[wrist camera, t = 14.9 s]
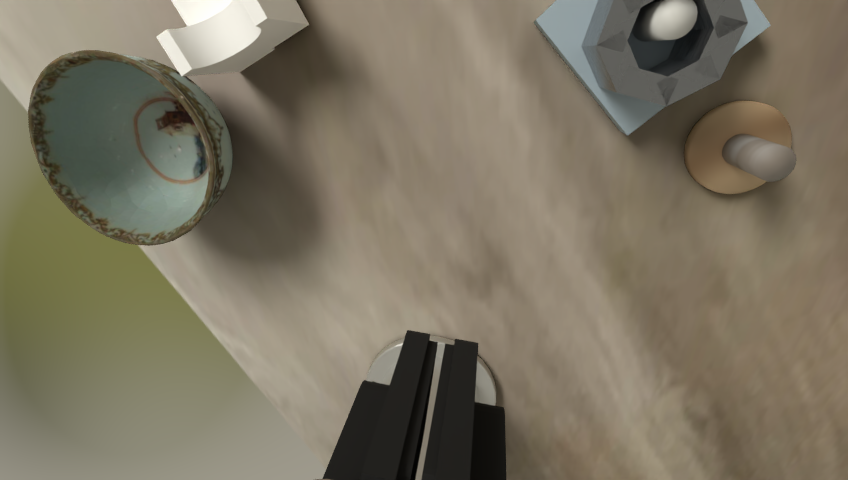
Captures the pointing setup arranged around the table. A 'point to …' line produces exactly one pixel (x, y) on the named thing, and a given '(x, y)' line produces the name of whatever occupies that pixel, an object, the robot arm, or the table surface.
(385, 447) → the robot arm
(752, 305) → the table surface
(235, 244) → the table surface
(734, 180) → the stand
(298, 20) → the bracket
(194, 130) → the bowl
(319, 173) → the table surface
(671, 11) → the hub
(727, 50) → the grey octagonal ring
